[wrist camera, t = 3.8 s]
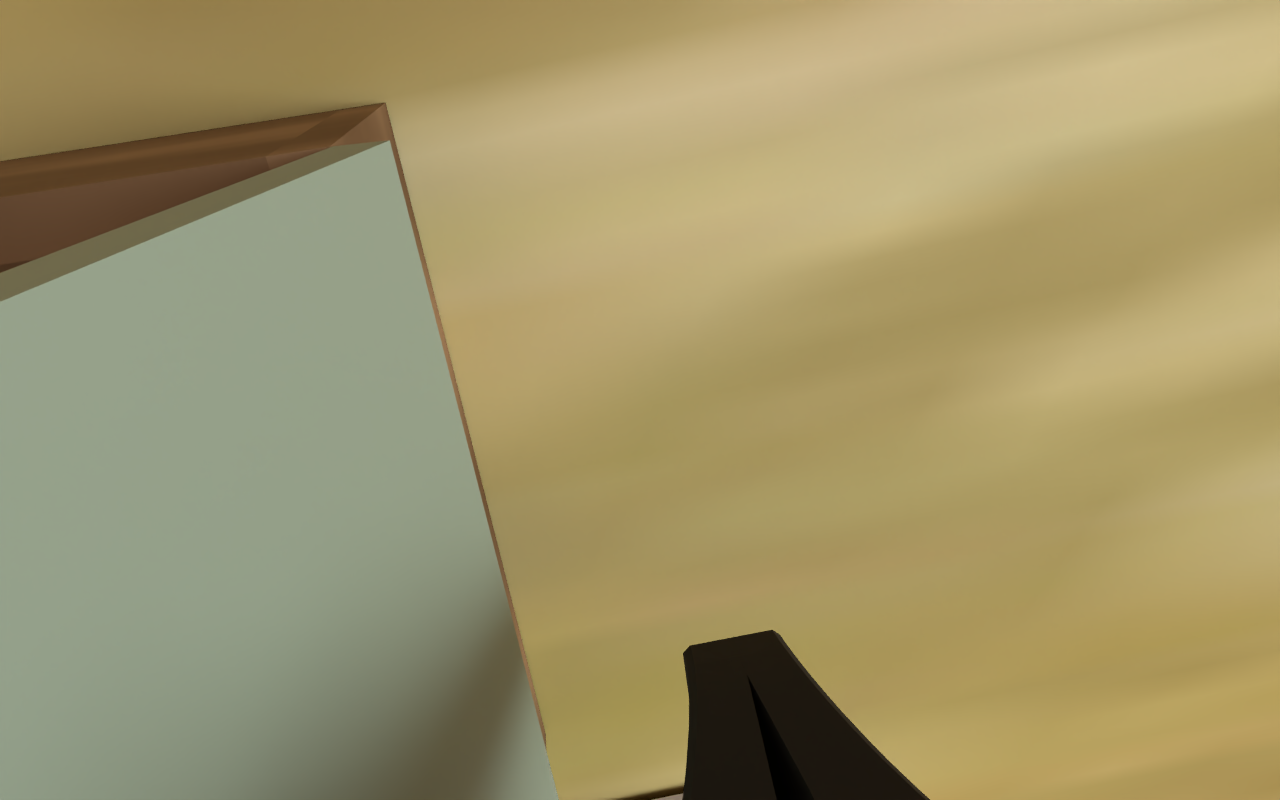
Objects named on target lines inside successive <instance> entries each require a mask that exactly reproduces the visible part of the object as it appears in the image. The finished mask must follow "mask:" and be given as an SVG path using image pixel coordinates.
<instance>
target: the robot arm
mask: <svg viewBox="0 0 1280 800" xmlns="http://www.w3.org/2000/svg"><path fill="white" fill-rule="evenodd" d="M683 657H684V664H685V671H686V679H687V686H688V693H689V735H688V750H687V765H686V776H685V784H684V791H683V793H682V794H677V795H672V796H667V797H663V798H658V799H653V800H930V799H929V798H928V797H926V796H925V795H924V794H923V793H922V792H921V791H920V790H919V789H918V788H917V787H916V786H914V785H913V784H912V783H911V782H910V781H909V780H908V779H907V778H906V777H905V776H904V775H903V774H902V773H901V772H900V771H899V770H898V769H897V768H896V767H895V766H894V765H893V764H891V763H890V762H889V761H888V760H887V759H886V758H885V757H884V756H883V755H882V754H881V753H880V752H879V751H878V749H877V748H876V747H875V746H874V745H873V744H872V743H871V742H870V741H869V740H868V739H867V738H866V737H865V736H864V735H863V734H862V733H861V732H860V731H859V730H858V728H857V727H856V726H855V725H854V724H853V723H852V722H851V721H850V720H849V719H848V718H847V717H846V716H845V715H844V714H843V712H842V711H841V710H840V709H839V708H838V707H837V706H836V705H835V703H834V702H833V701H832V700H831V699H830V698H829V697H828V696H827V694H826V693H825V692H824V691H823V690H822V688H821V687H820V686H819V685H818V684H817V682H816V681H815V680H814V679H813V678H812V677H811V675H810V674H809V673H808V672H807V670H806V669H805V668H804V667H803V665H802V664H801V663H800V661H799V660H798V659H797V658H796V656H795V655H794V654H793V652H792V651H791V650H790V648H789V647H788V646H787V644H786V643H785V641H784V640H783V639H782V637H781V636H780V635H779V634H778V633H776V632H775V631H773V630H769V631H764V632H759V633H753V634H748V635H743V636H738V637H733V638H727V639H722V640H717V641H712V642H707V643H701V644H696V645H691V646H689V647H688V648H687V650H686V651H685V652H684V653H683Z"/></svg>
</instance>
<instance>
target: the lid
mask: <svg viewBox="0 0 1280 800" xmlns="http://www.w3.org/2000/svg"><path fill="white" fill-rule="evenodd" d="M0 800H559V799H558V795H557V791H556V787H555V783H554V779H553V775H552V771H551V768H550V764H549V760H548V756H547V752H546V748H545V744H544V740H543V736H542V732H541V729H540V725H539V721H538V717H537V713H536V709H535V705H534V701H533V697H532V693H531V690H530V686H529V682H528V678H527V674H526V670H525V666H524V662H523V658H522V654H521V651H520V647H519V643H518V639H517V635H516V631H515V627H514V623H513V619H512V615H511V612H510V608H509V604H508V600H507V596H506V592H505V588H504V584H503V580H502V576H501V573H500V569H499V565H498V561H497V557H496V553H495V549H494V545H493V541H492V537H491V534H490V530H489V526H488V522H487V518H486V514H485V510H484V506H483V502H482V498H481V495H480V491H479V487H478V483H477V479H476V475H475V471H474V467H473V463H472V459H471V456H470V452H469V448H468V444H467V440H466V436H465V432H464V428H463V424H462V420H461V417H460V413H459V409H458V405H457V401H456V397H455V393H454V389H453V385H452V381H451V378H450V374H449V370H448V366H447V362H446V358H445V354H444V350H443V346H442V342H441V339H440V335H439V331H438V327H437V323H436V319H435V315H434V311H433V307H432V303H431V300H430V296H429V292H428V288H427V284H426V280H425V276H424V272H423V268H422V264H421V261H420V257H419V253H418V249H417V245H416V241H415V237H414V233H413V229H412V225H411V222H410V218H409V214H408V210H407V206H406V202H405V198H404V194H403V190H402V186H401V183H400V179H399V175H398V171H397V167H396V163H395V159H394V155H393V151H392V147H391V144H390V140H388V141H379V142H369V143H360V144H350V145H341V146H333V147H330V148H327V149H325V150H322V151H319V152H317V153H314V154H311V155H309V156H306V157H304V158H301V159H298V160H296V161H293V162H290V163H288V164H285V165H283V166H280V167H277V168H275V169H272V170H269V171H267V172H264V173H262V174H259V175H256V176H254V177H251V178H248V179H246V180H243V181H241V182H238V183H235V184H233V185H230V186H227V187H225V188H222V189H220V190H217V191H214V192H212V193H209V194H206V195H204V196H201V197H198V198H196V199H193V200H191V201H188V202H185V203H183V204H180V205H177V206H175V207H172V208H170V209H167V210H164V211H162V212H159V213H156V214H154V215H151V216H149V217H146V218H143V219H141V220H138V221H135V222H133V223H130V224H128V225H125V226H122V227H120V228H117V229H114V230H112V231H109V232H106V233H104V234H101V235H99V236H96V237H93V238H91V239H88V240H85V241H83V242H80V243H78V244H75V245H72V246H70V247H67V248H64V249H62V250H59V251H57V252H54V253H51V254H49V255H46V256H43V257H41V258H38V259H36V260H33V261H30V262H28V263H25V264H22V265H20V266H17V267H15V268H12V269H9V270H7V271H4V272H1V273H0Z"/></svg>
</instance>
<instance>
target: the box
mask: <svg viewBox="0 0 1280 800" xmlns="http://www.w3.org/2000/svg"><path fill="white" fill-rule="evenodd" d="M388 140H390V144H391V147H392V151H393V155H394V159H395V163H396V167H397V171H398V175H399V179H400V183H401V186H402V190H403V194H404V198H405V202H406V206H407V210H408V214H409V218H410V222H411V225H412V229H413V233H414V237H415V241H416V245H417V249H418V253H419V257H420V261H421V264H422V268H423V272H424V276H425V280H426V284H427V288H428V292H429V296H430V300H431V303H432V307H433V311H434V315H435V319H436V323H437V327H438V331H439V335H440V339H441V342H442V346H443V350H444V354H445V358H446V362H447V366H448V370H449V374H450V378H451V381H452V385H453V389H454V393H455V397H456V401H457V405H458V409H459V413H460V417H461V420H462V424H463V428H464V432H465V436H466V440H467V444H468V448H469V452H470V456H471V459H472V463H473V467H474V471H475V475H476V479H477V483H478V487H479V491H480V495H481V498H482V502H483V506H484V510H485V514H486V518H487V522H488V526H489V530H490V534H491V537H492V541H493V545H494V549H495V553H496V557H497V561H498V565H499V569H500V573H501V576H502V580H503V584H504V588H505V592H506V596H507V600H508V604H509V608H510V612H511V615H512V619H513V623H514V627H515V631H516V635H517V639H518V643H519V647H520V651H521V654H522V658H523V662H524V666H525V670H526V674H527V678H528V682H529V686H530V690H531V693H532V697H533V701H534V705H535V709H536V713H537V717H538V721H539V725H540V729H541V732H542V736H543V740H544V744H545V748H546V734H545V730H544V726H543V722H542V718H541V714H540V710H539V706H538V702H537V698H536V694H535V690H534V687H533V683H532V679H531V675H530V671H529V667H528V663H527V659H526V655H525V651H524V647H523V643H522V639H521V635H520V631H519V627H518V623H517V620H516V616H515V612H514V608H513V604H512V600H511V596H510V592H509V588H508V584H507V580H506V576H505V572H504V568H503V564H502V560H501V556H500V553H499V549H498V545H497V541H496V537H495V533H494V529H493V525H492V521H491V517H490V513H489V509H488V505H487V501H486V497H485V493H484V489H483V485H482V482H481V478H480V474H479V470H478V466H477V462H476V458H475V454H474V450H473V446H472V442H471V438H470V434H469V430H468V426H467V422H466V418H465V415H464V411H463V407H462V403H461V399H460V395H459V391H458V387H457V383H456V379H455V375H454V371H453V367H452V363H451V359H450V355H449V351H448V348H447V344H446V340H445V336H444V332H443V328H442V324H441V320H440V316H439V312H438V308H437V304H436V300H435V296H434V292H433V288H432V284H431V281H430V277H429V273H428V269H427V265H426V261H425V257H424V253H423V249H422V245H421V241H420V237H419V233H418V229H417V225H416V221H415V217H414V213H413V210H412V206H411V202H410V198H409V194H408V190H407V186H406V182H405V178H404V174H403V170H402V166H401V162H400V158H399V154H398V150H397V146H396V143H395V139H394V135H393V131H392V127H391V123H390V119H389V115H388V111H387V107H386V103H381V104H374V105H367V106H361V107H354V108H348V109H341V110H335V111H328V112H322V113H315V114H308V115H302V116H295V117H289V118H282V119H276V120H269V121H263V122H256V123H249V124H243V125H236V126H230V127H223V128H217V129H210V130H204V131H197V132H190V133H184V134H177V135H171V136H164V137H158V138H151V139H145V140H138V141H131V142H125V143H118V144H112V145H105V146H99V147H92V148H86V149H79V150H72V151H66V152H59V153H53V154H46V155H40V156H33V157H27V158H20V159H13V160H7V161H0V273H1V272H4V271H7V270H9V269H12V268H15V267H17V266H20V265H22V264H25V263H28V262H30V261H33V260H36V259H38V258H41V257H43V256H46V255H49V254H51V253H54V252H57V251H59V250H62V249H64V248H67V247H70V246H72V245H75V244H78V243H80V242H83V241H85V240H88V239H91V238H93V237H96V236H99V235H101V234H104V233H106V232H109V231H112V230H114V229H117V228H120V227H122V226H125V225H128V224H130V223H133V222H135V221H138V220H141V219H143V218H146V217H149V216H151V215H154V214H156V213H159V212H162V211H164V210H167V209H170V208H172V207H175V206H177V205H180V204H183V203H185V202H188V201H191V200H193V199H196V198H198V197H201V196H204V195H206V194H209V193H212V192H214V191H217V190H220V189H222V188H225V187H227V186H230V185H233V184H235V183H238V182H241V181H243V180H246V179H248V178H251V177H254V176H256V175H259V174H262V173H264V172H267V171H269V170H272V169H275V168H277V167H280V166H283V165H285V164H288V163H290V162H293V161H296V160H298V159H301V158H304V157H306V156H309V155H311V154H314V153H317V152H319V151H322V150H325V149H327V148H330V147H333V146H341V145H350V144H360V143H369V142H379V141H388Z"/></svg>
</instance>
